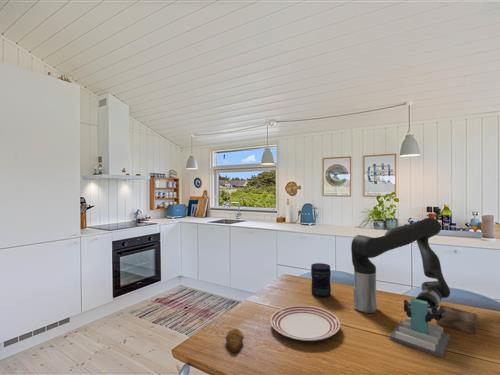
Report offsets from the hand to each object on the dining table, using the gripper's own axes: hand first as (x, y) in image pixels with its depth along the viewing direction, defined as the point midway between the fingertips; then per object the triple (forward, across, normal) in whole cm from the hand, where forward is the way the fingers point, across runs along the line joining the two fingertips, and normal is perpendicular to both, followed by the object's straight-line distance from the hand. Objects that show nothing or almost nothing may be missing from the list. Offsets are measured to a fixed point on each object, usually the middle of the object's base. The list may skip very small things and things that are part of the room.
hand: (417, 317), depth 97 cm
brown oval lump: (+44, -49, +9) cm, 67 cm away
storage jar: (-15, -47, +9) cm, 50 cm away
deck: (-25, +9, +9) cm, 27 cm away
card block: (-3, 0, +7) cm, 7 cm away
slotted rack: (-3, 0, +9) cm, 9 cm away
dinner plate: (+18, -36, +9) cm, 41 cm away
